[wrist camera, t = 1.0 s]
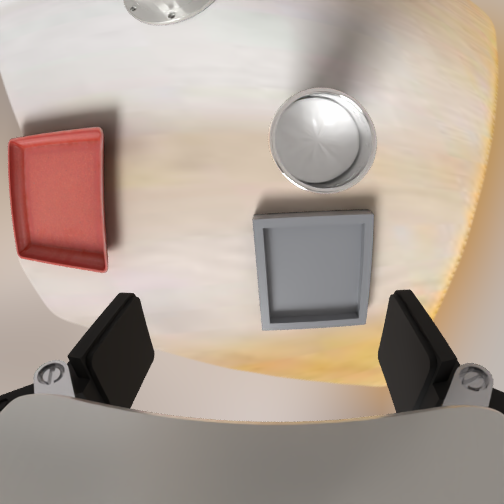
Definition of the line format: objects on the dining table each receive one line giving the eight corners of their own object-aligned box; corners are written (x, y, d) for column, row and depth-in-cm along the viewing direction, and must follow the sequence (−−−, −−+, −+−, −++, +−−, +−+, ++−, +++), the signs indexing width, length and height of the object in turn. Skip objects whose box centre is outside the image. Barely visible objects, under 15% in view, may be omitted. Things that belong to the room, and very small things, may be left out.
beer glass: (261, 120, 30) (247, 106, 16) (322, 99, 29) (356, 71, 15) (285, 180, 32) (290, 213, 18) (344, 159, 31) (394, 177, 17)
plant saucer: (21, 137, 33) (6, 139, 30) (116, 125, 32) (102, 125, 29) (30, 250, 39) (17, 258, 36) (120, 264, 38) (108, 274, 35)
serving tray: (254, 214, 34) (252, 219, 32) (368, 209, 33) (373, 214, 31) (263, 320, 39) (262, 330, 37) (361, 315, 38) (365, 324, 36)
